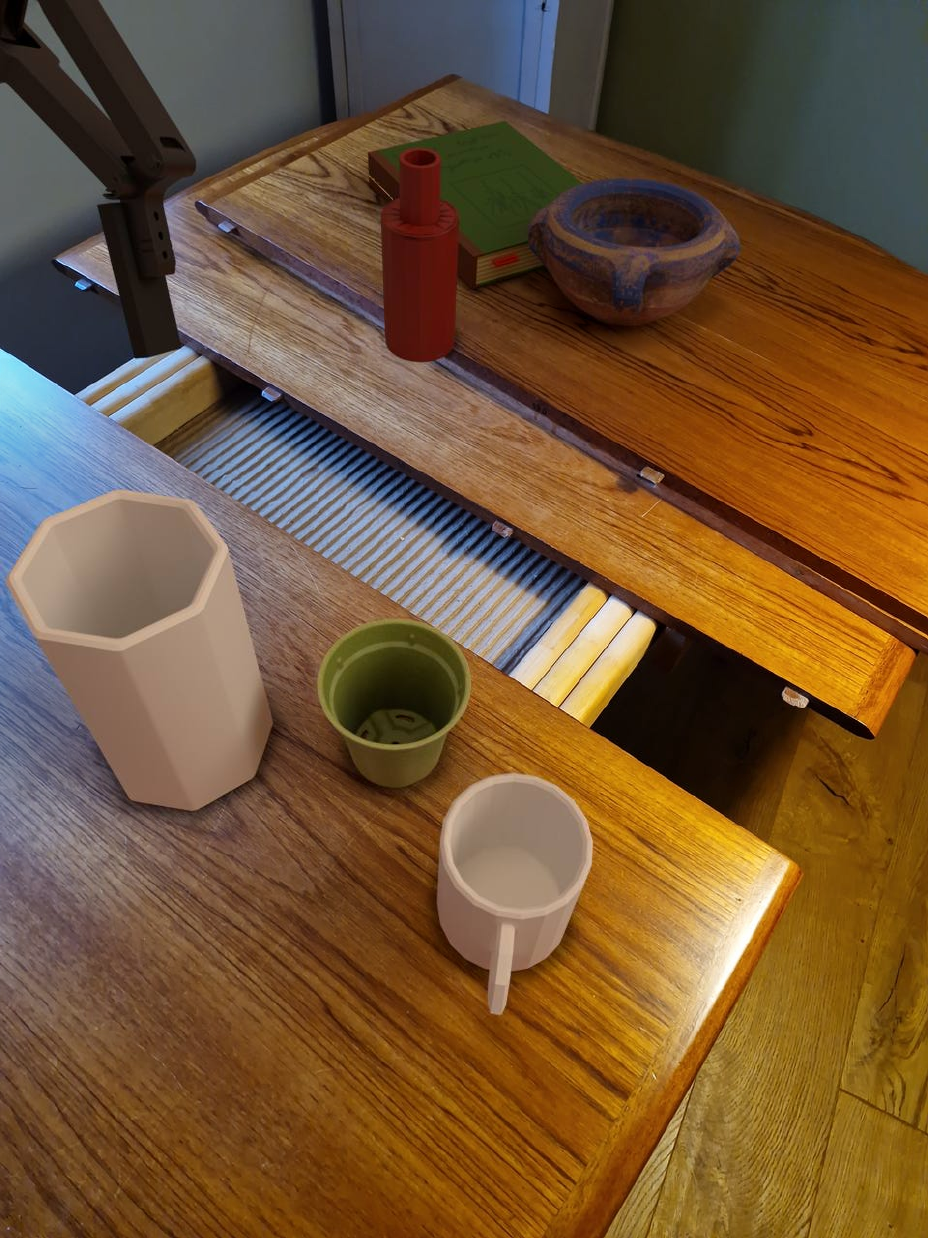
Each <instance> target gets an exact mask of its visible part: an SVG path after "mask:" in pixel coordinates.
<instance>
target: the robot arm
mask: <svg viewBox="0 0 928 1238" xmlns="http://www.w3.org/2000/svg"><path fill="white" fill-rule="evenodd" d="M35 1H36V2H38V5H39V7H40V9H41V11H42V13H43V15H44V17H45V18H46V20H47V21H48V24H49V25H50V26H51V28H52V29H53V31H54V33H55V34H56V36H57V37H58V39H59V40H60V42H61V44H62V45H63V47H64V48H65V50H66V52H67V54H68V55H69V57H70V58H71V59H72V61H73V63H74V65H75V66H76V67H77V69H78V71H79V73H80V74H81V75H82V77H83V79H84V80H85V82H86V83H87V85H88V86H89V88H90V90H91V91H92V93H93V94H94V96H95V97H96V99H97V101H98V102H99V104H100V106H101V107H102V108H103V110H104V111H102V110H101V108H100V107H99V106H98V105H97V104H96V103H95V102H94V101H93V100H92V99H91V97H89V96H88V94H86V92H85V91H83V89H82V88H81V87H80V86H79V85H78V84H77V83H76V82H75V81H74V80H73V79H72V78H71V77H70V75H69V74H68V73H67V72H65V70H64V69H63V68H62V67H61V65H60V63H61V61H60V58H59V57H58V56H57V55H56V53H55V52H53V50H52V49H51V48H50V47H49V46H48V45H47V44H46V43H45V42H44V41H43V40H42V39H41V38H40V37H39V35H37V33H35V31H34V30H32V28H31V27H30V26H29V25H28V24H27V23H26V22H25V19H26V15H27V10H28V5H29V0H0V84H5V85H7V86H8V87H9V88H11V89H12V90H13V92H14V93H16V95H18V97H19V98H20V100H22V101H23V102H24V103H25V104H26V105H27V106H28V107H29V108H30V110H32V111H33V112H34V114H36V116H37V117H38V118H39V119H40V120H41V121H42V122H43V123H44V124H45V125H46V126H47V127H48V128H49V129H50V130H51V131H52V132H53V133H54V134H55V136H56V137H57V138H58V139H59V140H60V141H61V142H62V143H63V144H64V145H65V146H66V147H67V148H68V149H69V151H71V152H72V153H73V155H74V156H75V157H77V159H78V160H79V161H80V162H81V163H82V164H83V165H84V166H85V167H86V168H87V169H88V170H89V171H90V172H91V173H92V174H93V175H94V176H95V178H96V179H98V181H99V182H100V183H101V184H102V185H103V186H104V187H105V188H106V189H105V192H107V193H105V192H104V193H102V197H103V198H105V199H106V200H110V201H119V202H107V203H99V204H97V205H96V207H97V210H98V215H99V218H100V219H99V220H100V223H101V227H102V231H103V236H104V239H105V244H106V247H107V252H108V257H109V259H110V264H111V268H112V271H113V275H114V279H115V284H116V288H117V293H118V296H119V300H120V304H121V308H122V313H123V317H124V320H125V324H126V329H127V333H128V338H129V341H130V344H131V349H132V353H133V357H134V359H135V360H136V359H138V360H139V359H149V358H152V357H156V356H160V355H163V354H167V353H170V352H173V351H177V350H182V348H183V347H182V343H181V338H180V335H179V331H178V330H179V329H178V325H177V321H176V316H175V311H174V307H173V303H172V298H171V294H170V289H169V285H168V281H167V276H170V275H175V274H176V264H177V261H176V256H175V252H174V248H173V242H172V239H171V233H170V228H169V225H168V219H167V215H166V210H165V205H164V198H165V194H166V192H167V190H168V189H169V188H170V187H171V186H173V185H174V184H177V182H179V181H180V180H182V179H188V178H191V177H193V176H194V174H195V173H196V170H197V159H196V157H195V155H194V153H193V151H192V149H191V148H190V146H189V144H188V143H187V141H186V139H185V138H184V137H183V134H182V133H181V132H180V130H179V129H178V127H177V125H176V124H175V122H174V120H173V119H172V117H171V115H170V114H169V112H168V110H167V109H166V107H165V106H164V104H163V103H162V101H161V99H160V97H159V96H158V94H157V92H156V91H155V90H154V88H153V87H152V85H151V83H150V81H149V80H148V78H147V77H146V75H145V73H144V72H143V70H142V68H141V66H140V65H139V63H138V62H137V60H136V59H135V57H134V56H133V53H132V52H131V49H129V47H128V45H127V44H126V42H125V40H124V38H123V37H122V36H121V34H120V33H119V31H118V29H117V28H116V26H115V24H114V23H113V21H112V19H111V18H110V17H109V15H108V13H107V12H106V10H105V8H104V6H103V5H102V4H101V1H100V0H35ZM104 112H105V113H104Z"/></svg>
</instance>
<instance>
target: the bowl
mask: <svg viewBox="0 0 928 1238" xmlns="http://www.w3.org/2000/svg"><path fill="white" fill-rule="evenodd" d="M527 238H528V243H529V246H530V249H531V250H532V251H533V253H534V254H535V255H536V256H537V257H538V258H539V260H540V261H541V262H542V263H543V265H544V266H545V269H546V270H547V271H548V273H549V274H550V275H551V277H552V278H553V280H554V282H555V284H556V285H557V287H558V288H559V290H560V291H561V292H562V293H563V295H564V296H565V297H566V298H567V299H568V300H569V301H570V302H572V304H573V305H574V306H576V307H577V308H578V309H580V310H581V311H583V312H584V313H586V314H587V315H589V316H591V317H593V318H595V319H596V320H597V321H600V322H602V323H604V324H606V325H614V326H620V327H639V326H645V325H647V324H650V323H652V322H656V321H657V320H660V319H663V318H667V317H668V316H670V315H672V314H674V313H676V312H677V311H679V310H681V309H682V308H684V307H685V306H687V305H688V304H689V303H690V302H692V300H694V299H695V298H696V297H697V296H699V294H701V292H702V291H703V290H704V289H705V287H706V286H707V284H708V283H709V281H710V280H712V279H713V278H714V277H715V276H717V275H718V274H720V273H721V272H722V271H724V270H726V268H729V266H731V265H732V264H733V263H734V262H735V261H736V260H737V259H738V257H739V255H740V253H741V251H742V249H741V239H740V237H739V235H738V231H737V229H736V228H735V227H734V226H733V225H732V224H731V223H730V222H729V221H728V220H727V218H726V217H725V216H724V215H723V213H722V212H721V211H720V210H719V209H718V208H717V207H716V206H715V205H714V204H713V203H712V202H711V201H710V200H708V199H707V198H705V197H703V196H702V195H701V194H698V193H697V192H695V191H693V190H691V189H688V188H686V187H682V186H679V185H676V184H673V183H669V182H663V181H658V180H652V179H645V178H638V177H615V178H606V179H599V180H592V181H589V182H585V183H583V184H581V185H578V186H575V187H573V188H571V189H569V190H566V191H564V192H563V193H562V194H561V195H559V196H558V197H557V198H556V199H555V200H553V201H552V202H551V203H549V204H548V205H547V206H545V207H544V208H542V209H540V210H539V211H537V212H536V213H535V215H534V216H533V218H532V219H531V221H530V222H529V224H528V225H527Z"/></svg>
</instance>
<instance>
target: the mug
mask: <svg viewBox="0 0 928 1238" xmlns="http://www.w3.org/2000/svg"><path fill="white" fill-rule="evenodd" d="M590 830H591V829H590V827H589V823H588V820H587V818H586V816H585V815H584V814H583V812H582V810H581V808H580V807H579V806H578V804H577V803H576V801H575V800H574V799H573V798H572V797H571V796H570V795H569V794H567V793H566V792H565V791H564V790H562V789H561V788H560V787H559V786H558V785H557V784H554V783H552V782H551V781H547V780H545V779H544V778H541V777H538V776H536V775H531V774H523V773H517V772H509V773H502V774H494V775H489V776H487V777H485V778H483V779H480V780H478V781H477V782H474V783H473V784H470V785H469V786H467V788H466V789H465V790H463V792H462V793H460V794H459V795H458V796H457V797H456V798H455V799H454V800H452V803H451V805H450V807H449V809H448V811H447V812H446V815H445V816H444V818H443V820H442V826H441V830H440V838H439V847H438V849H439V851H438V869H437V872H438V873H437V890H436V891H437V892H436V906H437V913H438V919H439V925H440V928H441V929H442V931H443V933H444V935H445V937H446V939H447V941H448V943H449V944H450V945H451V947H452V948H453V949H455V951H457V952H458V953H459V954H460V955H461V957H463V959H465V960H466V961H469V962H470V963H472V964H474V965H476V966H478V967H480V968H482V969H483V970H489V975H488V984H487V986H488V987H487V1006H488V1008H489V1009H488V1010H489V1012H490V1014H492V1015H499V1016H501V1015H502V1014H503V1011H504V1010H505V1009H506V1006H507V1000H508V994H509V989H510V982H511V974H512V972H517V971H522V970H527V969H531V968H532V967H533V966H535V965H537V964H539V963H540V962H543V961H545V960H546V959H547V958H548V957H549V956H550V955H551V954H552V953H553V952H554V950H555V949H556V948H557V947H558V946H559V945H560V943H561V942H562V939H563V937H564V934H565V932H566V929H567V927H568V924H569V923H570V919H571V917H572V915H573V912H574V909H575V907H576V906H577V902H578V900H579V897H580V895H581V892H582V890H583V888H584V885H585V882H586V880H587V878H588V876H589V872H590V870H591V868H592V865H593V850H594V848H593V847H594V841H593V837H592V834H591V831H590Z"/></svg>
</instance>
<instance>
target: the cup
mask: <svg viewBox="0 0 928 1238" xmlns="http://www.w3.org/2000/svg"><path fill="white" fill-rule="evenodd" d="M5 585H6V587H7V590H8V591H9V593H10V594H11V596H12V599H13V600H14V602H15V604H16V606H17V608H18V609H19V611H20V614H21V615H22V617H23V619H24V621H25V623H26V625H27V626H28V628H29V630H30V632H31V634H32V636H33V637H34V639H35V641H36V643H37V645H38V646H39V648H40V650H41V651H42V653H43V655H44V656H45V658H46V660H47V661H48V664H49V665H50V666H51V668H52V670H53V672H54V673H55V675H56V677H57V679H58V680H59V682H60V683H61V685H62V687H63V689H64V690H65V692H66V693H67V695H68V697H69V699H70V701H71V702H72V704H73V706H74V707H75V709H76V711H77V712H78V714H79V716H80V717H81V719H82V721H83V723H84V724H85V726H86V728H87V729H88V731H89V733H90V735H91V736H92V738H93V740H94V741H95V743H96V745H97V746H98V748H99V749H100V752H101V753H102V755H103V757H104V758H105V760H106V762H107V764H108V765H109V767H110V768H111V770H112V772H113V773H114V775H115V778H116V779H117V780H118V782H119V784H120V786H121V787H122V789H123V791H124V792H125V793H126V796H127V797H128V799H129V800H131V801H132V802H138V803H143V804H149V805H156V806H161V807H166V808H173V809H178V810H184V811H191V812H194V811H198V810H200V809H201V808H203V807H205V806H206V805H209V804H210V803H212V802H214V801H216V800H218V799H219V798H220V797H223V796H224V795H226V794H228V793H230V792H232V791H233V790H235V789H237V788H238V787H240V786H242V785H243V784H245V783H247V782H248V781H250V780H253V778H254V777H256V774H257V771H258V768H259V766H260V763H261V760H262V758H263V757H262V756H263V754H264V751H265V748H266V745H267V742H268V739H269V736H270V734H271V731H272V727H273V724H274V723H273V717H272V713H271V709H270V706H269V702H268V697H267V694H266V690H265V686H264V682H263V678H262V675H261V670H260V667H259V663H258V658H257V654H256V651H255V648H254V644H253V639H252V635H251V631H250V628H249V624H248V620H247V616H246V612H245V608H244V603H243V601H242V596H241V593H240V589H239V585H238V581H237V577H236V574H235V569H234V566H233V562H232V558H231V553H230V550H229V546H228V545H227V544H226V542H225V541H224V539H223V538H222V537H221V535H220V534H219V533H218V531H217V530H216V528H215V527H214V526H213V524H212V523H211V521H209V519H208V518H207V516H206V515H205V513H203V511H202V509H201V508H200V507H199V505H198V504H197V503H196V502H195V501H194V500H192V499H189V498H182V497H177V496H168V495H162V494H155V493H148V492H144V491H143V492H142V491H136V490H128V489H122V488H121V489H114V490H112V491H109V492H107V493H104V494H102V495H100V496H97V497H95V498H92V499H90V500H87V501H85V502H83V503H80V504H77V505H76V506H73V507H71V508H68V509H65V510H62V511H61V512H59V513H55V514H54V515H51V516H48V517H45V519H43V520H42V521H41V522H40V523H39V524H38V526H37V527H36V529H35V531H34V532H33V534H32V536H31V537H30V539H29V540H28V542H27V544H26V545H25V547H24V549H23V550H22V552H21V554H20V555H19V557H17V560H16V561H15V563H14V565H13V566H12V567H11V570H10V571H9V573H8V574H7V576H6V577H5Z"/></svg>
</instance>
